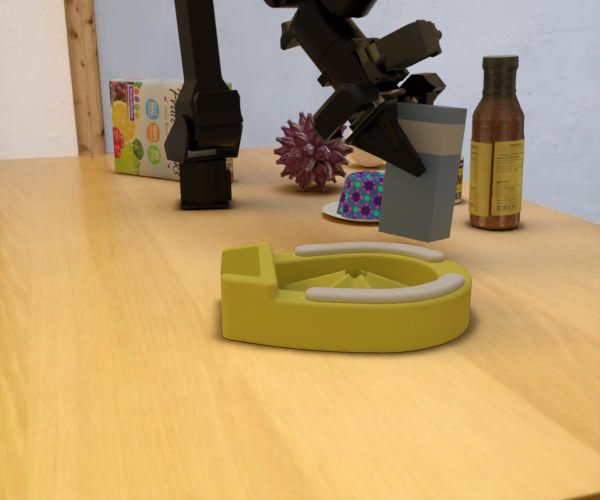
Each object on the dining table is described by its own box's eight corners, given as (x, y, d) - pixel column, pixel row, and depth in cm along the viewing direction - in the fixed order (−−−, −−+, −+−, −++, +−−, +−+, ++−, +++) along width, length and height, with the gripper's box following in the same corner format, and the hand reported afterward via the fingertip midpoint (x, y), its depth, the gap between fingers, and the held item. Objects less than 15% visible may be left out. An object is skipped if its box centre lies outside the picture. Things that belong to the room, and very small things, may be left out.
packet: (377, 231, 82) (392, 101, 78) (399, 227, 85) (414, 102, 81) (428, 243, 78) (446, 107, 74) (450, 238, 81) (468, 108, 78)
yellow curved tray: (224, 287, 75) (223, 235, 73) (442, 282, 76) (445, 231, 74) (221, 357, 59) (219, 294, 57) (494, 349, 60) (499, 287, 59)
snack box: (236, 180, 124) (233, 81, 119) (214, 186, 120) (210, 83, 115) (136, 168, 135) (130, 76, 130) (112, 173, 131) (105, 78, 126)
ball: (342, 163, 139) (343, 116, 136) (387, 162, 140) (388, 116, 137) (350, 171, 132) (350, 122, 129) (397, 170, 132) (399, 121, 130)
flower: (272, 194, 122) (343, 173, 125) (296, 207, 111) (373, 184, 114) (255, 119, 118) (328, 100, 121) (278, 125, 107) (358, 103, 110)
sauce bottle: (523, 222, 98) (539, 54, 92) (514, 233, 93) (530, 56, 87) (471, 216, 101) (482, 53, 94) (459, 228, 96) (470, 55, 89)
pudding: (352, 230, 95) (353, 187, 93) (305, 210, 105) (305, 171, 103) (434, 219, 100) (436, 178, 98) (382, 201, 110) (383, 163, 108)
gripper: (342, -13, 69) (453, 126, 66) (433, -8, 83) (526, 106, 81) (269, 77, 75) (368, 206, 73) (365, 68, 90) (450, 174, 88)
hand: (434, 170), depth 79 cm, fingers closed on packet, 5 cm apart
